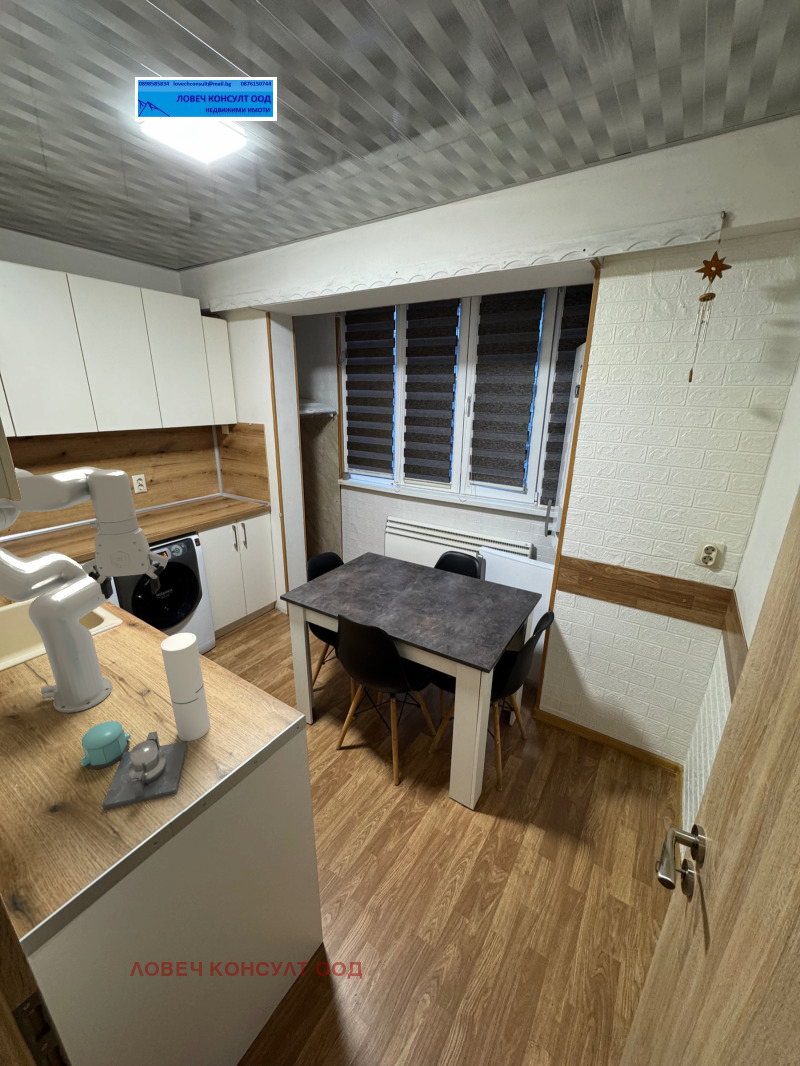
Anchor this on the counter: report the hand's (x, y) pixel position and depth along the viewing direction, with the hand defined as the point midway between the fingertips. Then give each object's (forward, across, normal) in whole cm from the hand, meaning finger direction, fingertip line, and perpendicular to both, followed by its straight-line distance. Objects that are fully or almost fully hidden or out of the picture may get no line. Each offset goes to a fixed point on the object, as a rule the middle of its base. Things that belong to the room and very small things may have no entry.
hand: (132, 594), depth 99 cm
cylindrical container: (+32, +11, -12) cm, 36 cm away
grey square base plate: (+32, +4, -23) cm, 40 cm away
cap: (+32, -6, -14) cm, 35 cm away
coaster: (+32, -6, -14) cm, 36 cm away
